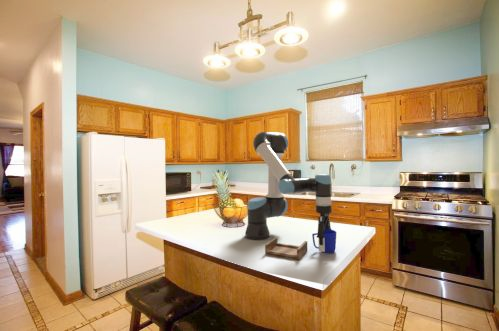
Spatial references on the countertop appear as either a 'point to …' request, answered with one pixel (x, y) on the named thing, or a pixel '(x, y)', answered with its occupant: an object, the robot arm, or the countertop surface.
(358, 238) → the countertop surface
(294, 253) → the tray
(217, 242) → the countertop surface
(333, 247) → the mug
